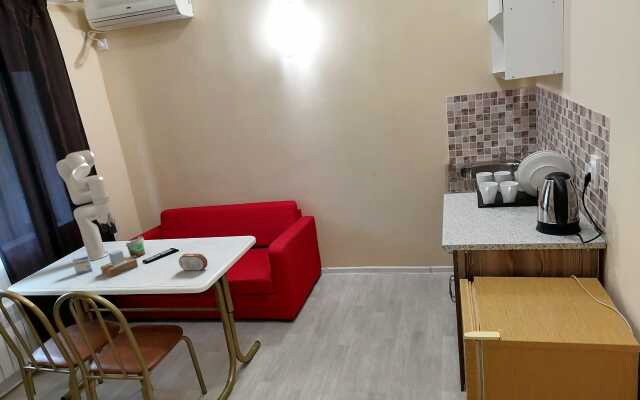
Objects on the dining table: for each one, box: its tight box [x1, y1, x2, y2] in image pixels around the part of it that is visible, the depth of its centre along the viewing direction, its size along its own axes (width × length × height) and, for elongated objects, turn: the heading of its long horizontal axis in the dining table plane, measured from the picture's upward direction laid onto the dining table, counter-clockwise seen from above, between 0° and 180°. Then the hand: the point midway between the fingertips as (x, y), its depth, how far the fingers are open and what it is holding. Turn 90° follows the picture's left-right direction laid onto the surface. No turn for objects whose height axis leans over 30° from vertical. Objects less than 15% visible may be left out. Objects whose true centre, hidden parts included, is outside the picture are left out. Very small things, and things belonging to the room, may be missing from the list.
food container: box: [125, 235, 146, 259], centre depth 264 cm, size 12×6×10 cm, turn 168°
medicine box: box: [72, 254, 93, 276], centre depth 250 cm, size 8×4×9 cm, turn 118°
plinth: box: [100, 256, 139, 278], centre depth 244 cm, size 12×14×4 cm
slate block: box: [108, 249, 125, 265], centre depth 243 cm, size 5×5×6 cm
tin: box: [178, 253, 209, 272], centre depth 226 cm, size 15×3×8 cm, turn 71°
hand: (109, 232), depth 240 cm, fingers open, 9 cm apart
